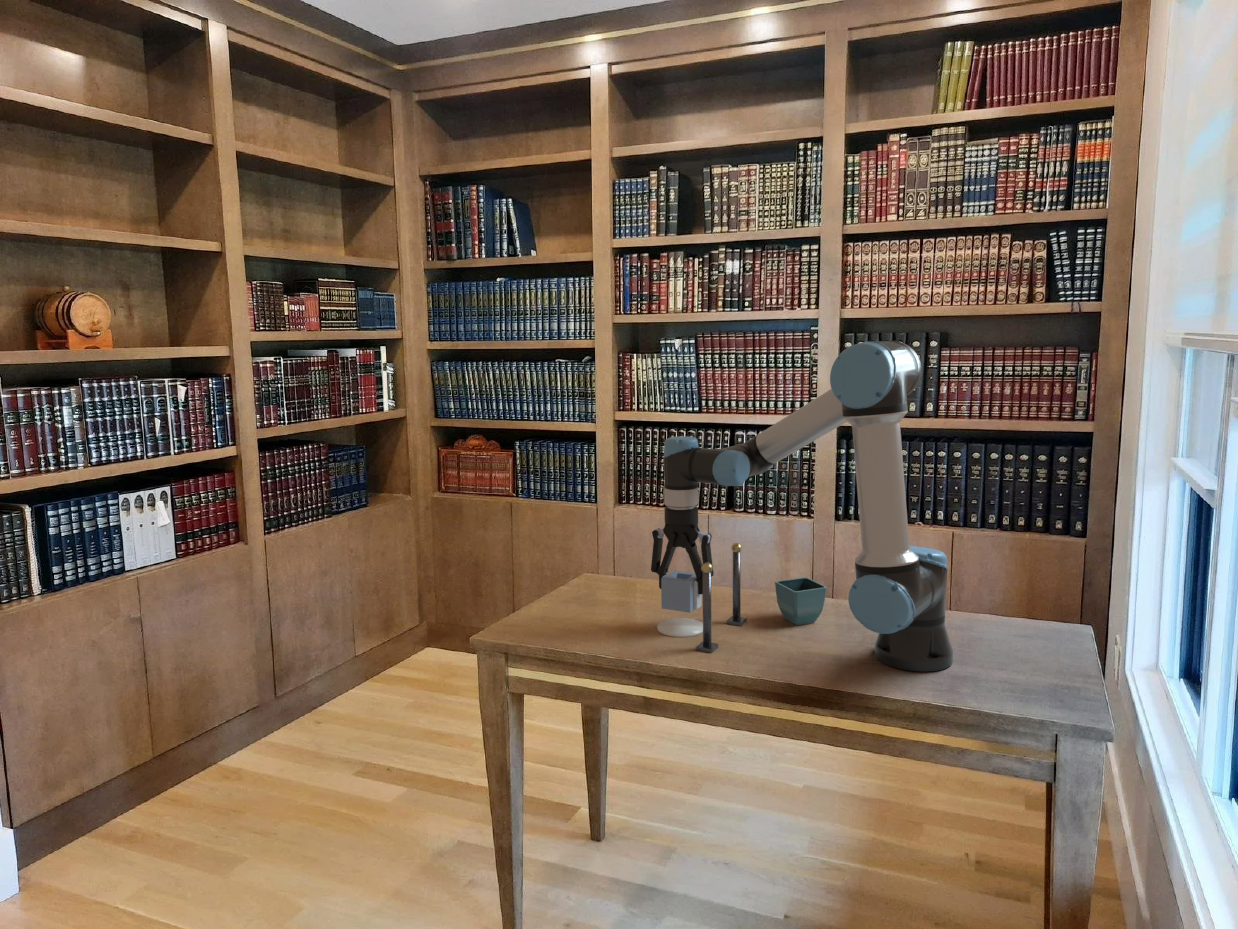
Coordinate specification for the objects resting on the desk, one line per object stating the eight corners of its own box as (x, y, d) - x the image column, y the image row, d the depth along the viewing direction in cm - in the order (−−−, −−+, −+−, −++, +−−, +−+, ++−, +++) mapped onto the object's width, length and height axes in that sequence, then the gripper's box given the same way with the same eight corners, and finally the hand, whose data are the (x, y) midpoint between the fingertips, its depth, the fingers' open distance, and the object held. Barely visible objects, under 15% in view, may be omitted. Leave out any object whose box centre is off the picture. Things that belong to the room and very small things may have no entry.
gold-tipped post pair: (746, 621, 198) (746, 541, 195) (712, 653, 179) (711, 565, 176) (732, 619, 199) (731, 540, 196) (696, 650, 181) (695, 563, 178)
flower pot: (827, 624, 195) (828, 586, 193) (794, 630, 191) (794, 591, 190) (805, 613, 203) (805, 576, 201) (773, 618, 199) (773, 581, 198)
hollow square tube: (702, 603, 194) (702, 574, 193) (690, 612, 188) (690, 582, 187) (674, 599, 198) (674, 570, 196) (661, 608, 191) (661, 578, 190)
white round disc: (712, 624, 196) (712, 622, 196) (694, 640, 186) (694, 637, 186) (669, 617, 201) (669, 615, 201) (649, 632, 192) (649, 630, 191)
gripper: (729, 506, 188) (729, 606, 191) (648, 499, 197) (649, 594, 201) (716, 513, 181) (717, 616, 185) (633, 505, 191) (635, 604, 194)
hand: (682, 605), depth 193 cm, fingers closed on hollow square tube, 7 cm apart
